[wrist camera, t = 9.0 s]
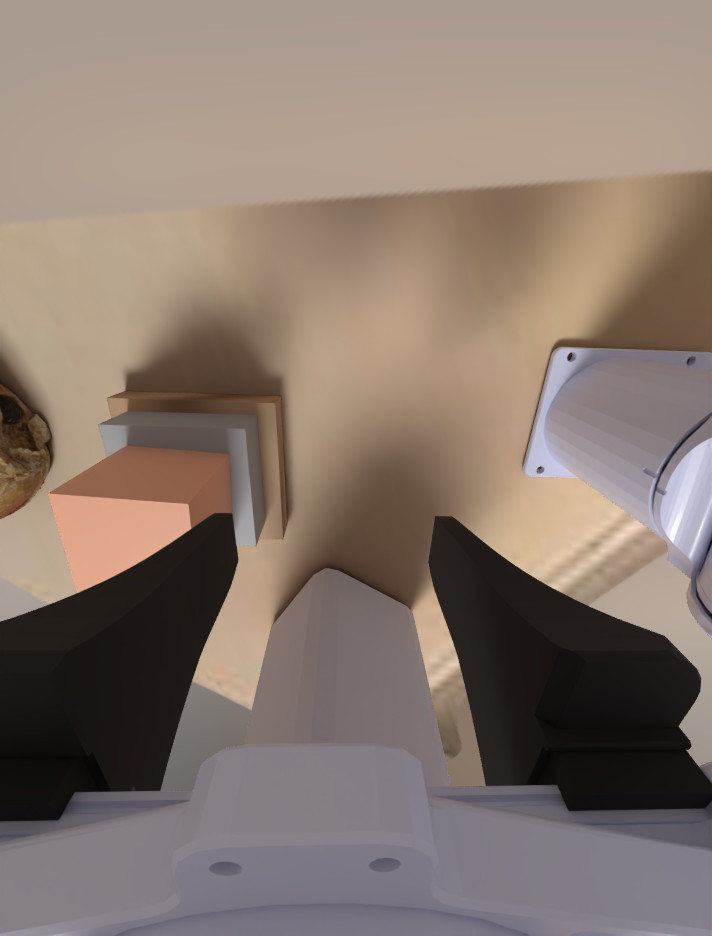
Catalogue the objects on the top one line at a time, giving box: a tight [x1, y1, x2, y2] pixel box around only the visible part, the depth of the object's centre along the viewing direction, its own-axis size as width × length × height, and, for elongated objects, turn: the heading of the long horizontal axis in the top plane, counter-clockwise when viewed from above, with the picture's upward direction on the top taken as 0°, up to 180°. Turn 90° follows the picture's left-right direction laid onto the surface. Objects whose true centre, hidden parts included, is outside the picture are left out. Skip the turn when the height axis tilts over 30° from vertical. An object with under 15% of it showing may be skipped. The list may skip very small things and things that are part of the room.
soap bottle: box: [244, 568, 451, 787], centre depth 17 cm, size 9×9×25 cm
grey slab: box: [98, 411, 265, 546], centre depth 20 cm, size 7×7×2 cm
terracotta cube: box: [48, 445, 232, 593], centre depth 16 cm, size 5×5×5 cm
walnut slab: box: [107, 391, 287, 539], centre depth 22 cm, size 9×9×2 cm
